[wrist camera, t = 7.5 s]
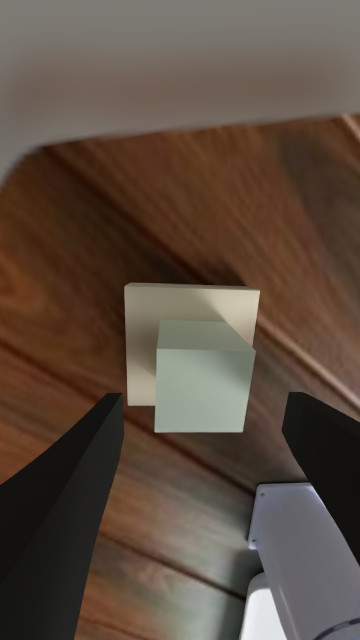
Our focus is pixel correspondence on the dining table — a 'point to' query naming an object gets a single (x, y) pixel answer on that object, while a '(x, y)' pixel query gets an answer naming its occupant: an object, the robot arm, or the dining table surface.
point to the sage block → (201, 377)
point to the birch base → (176, 304)
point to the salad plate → (260, 613)
